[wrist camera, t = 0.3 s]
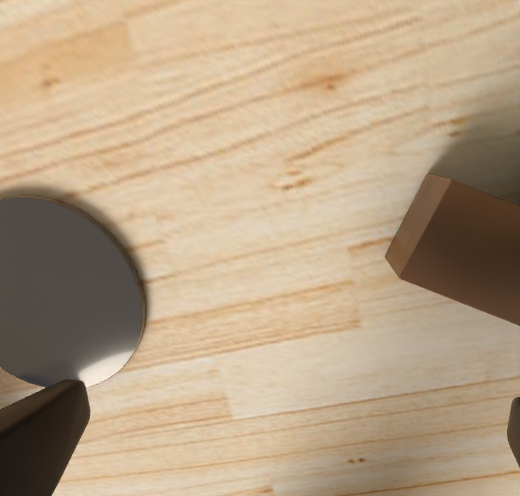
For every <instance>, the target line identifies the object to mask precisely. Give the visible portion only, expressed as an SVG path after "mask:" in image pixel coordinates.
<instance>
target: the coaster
mask: <svg viewBox="0 0 520 496" xmlns="http://www.w3.org/2000/svg"><path fill="white" fill-rule="evenodd" d="M145 313H146V308H145V297H144V293H143V288H142V284H141V281H140V279H139V276H138V273H137V271H136V269H135V267H134V265H133V263H132V261H131V259H130V257H129V256H128V254H127V253H126V251H125V250H124V248H123V247H122V245H121V244H120V243H119V242H118V241H117V240H116V238H115V237H114V236H113V235H112V234H111V233H110V232H109V231H108V230H107V229H106V228H105V227H104V226H103V225H101V224H100V223H99V222H97V221H96V220H95V219H93V218H92V217H91V216H89V215H88V214H86V213H84V212H82V211H81V210H79V209H77V208H75V207H73V206H70V205H68V204H66V203H64V202H60V201H57V200H54V199H50V198H45V197H38V196H16V197H9V198H4V199H0V368H2V369H3V370H5V371H6V372H8V373H10V374H12V375H14V376H15V377H17V378H19V379H22V380H24V381H26V382H29V383H32V384H35V385H38V386H42V387H49V386H51V385H53V384H55V383H57V382H60V381H62V380H65V379H72V380H81V381H83V382H84V384H85V386H86V387H90V386H93V385H96V384H99V383H101V382H103V381H105V380H107V379H109V378H110V377H112V376H113V375H115V374H116V373H117V372H118V371H119V370H121V369H122V368H123V367H124V366H125V364H126V363H127V362H128V361H129V359H130V358H131V357H132V355H133V354H134V353H135V351H136V349H137V347H138V345H139V343H140V340H141V337H142V335H143V330H144V325H145Z"/></svg>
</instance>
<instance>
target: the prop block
mask: <svg viewBox="0 0 520 496" xmlns="http://www.w3.org/2000/svg"><path fill="white" fill-rule="evenodd" d="M385 258H386V260H387V261H388V263H389V264H390V265H391V267H392V268H393V270H394V271H395V273H396V274H397V276H398V277H399V278H400V279H402V280H404V281H407V282H410V283H412V284H415V285H417V286H420V287H422V288H425V289H427V290H430V291H432V292H435V293H438V294H440V295H443V296H445V297H448V298H450V299H453V300H455V301H458V302H460V303H463V304H466V305H468V306H471V307H473V308H476V309H478V310H481V311H483V312H486V313H488V314H491V315H494V316H496V317H499V318H501V319H504V320H506V321H509V322H511V323H514V324H516V325H519V326H520V206H519V205H516V204H513V203H511V202H508V201H506V200H503V199H501V198H498V197H496V196H493V195H490V194H488V193H485V192H483V191H480V190H478V189H475V188H473V187H470V186H467V185H465V184H462V183H460V182H457V181H455V180H451V179H448V178H444V177H440V176H436V175H432V174H427V176H426V177H425V179H424V181H423V183H422V185H421V187H420V189H419V191H418V193H417V195H416V197H415V199H414V201H413V203H412V205H411V207H410V209H409V211H408V212H407V214H406V216H405V218H404V220H403V222H402V224H401V226H400V228H399V230H398V232H397V234H396V236H395V238H394V240H393V242H392V244H391V246H390V247H389V249H388V251H387V253H386V255H385Z"/></svg>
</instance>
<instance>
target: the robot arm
mask: <svg viewBox="0 0 520 496" xmlns="http://www.w3.org/2000/svg"><path fill="white" fill-rule="evenodd" d="M89 418H90V406H89V401H88V396H87V391H86V386H85V384H84V382H83V381H81V380H72V379H65V380H62V381H60V382H57V383H55V384H53V385H51V386H49V387H47V388H45V389H43V390H41V391H38V392H36V393H34V394H32V395H30V396H28V397H26V398H24V399H22V400H19V401H17V402H15V403H13V404H11V405H9V406H7V407H5V408H3V409H1V410H0V496H52V494H53V492H54V490H55V488H56V487H57V485H58V483H59V481H60V479H61V477H62V475H63V473H64V471H65V469H66V467H67V465H68V463H69V461H70V459H71V457H72V454H73V452H74V450H75V448H76V446H77V444H78V442H79V440H80V438H81V436H82V434H83V432H84V430H85V428H86V426H87V424H88V422H89ZM507 437H508V442H509V445H510V447H511V449H512V452H513V454H514V456H515V458H516V461H517V463H518V465H519V467H520V397H516V398H515V399H514V400H513V401H512V405H511V411H510V417H509V423H508V429H507Z"/></svg>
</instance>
